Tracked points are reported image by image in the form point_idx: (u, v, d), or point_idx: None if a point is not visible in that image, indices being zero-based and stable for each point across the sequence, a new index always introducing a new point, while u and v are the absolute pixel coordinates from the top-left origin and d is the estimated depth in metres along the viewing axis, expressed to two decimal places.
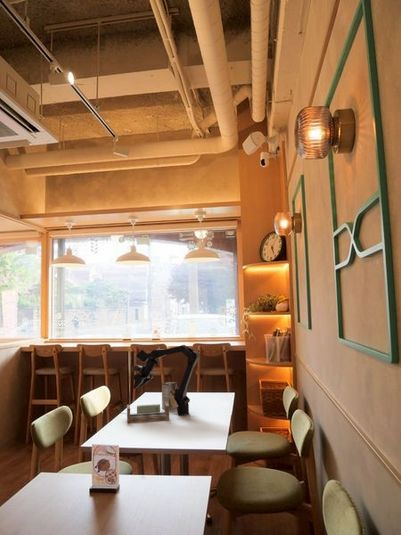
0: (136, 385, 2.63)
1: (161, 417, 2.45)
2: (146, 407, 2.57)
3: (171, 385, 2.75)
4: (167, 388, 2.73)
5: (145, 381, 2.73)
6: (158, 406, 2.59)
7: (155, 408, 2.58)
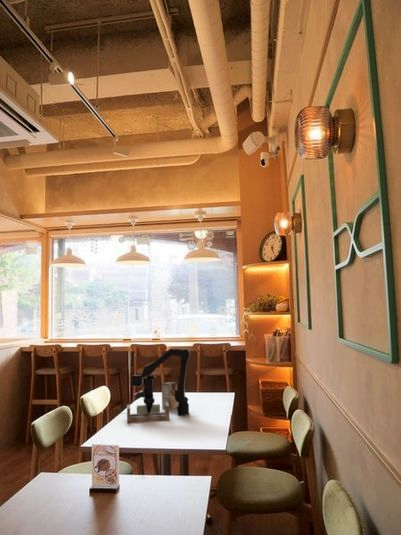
0: (149, 407, 2.56)
1: (161, 417, 2.45)
2: (146, 407, 2.57)
3: (171, 385, 2.75)
4: (167, 388, 2.73)
5: None
6: (158, 406, 2.59)
7: (155, 408, 2.58)
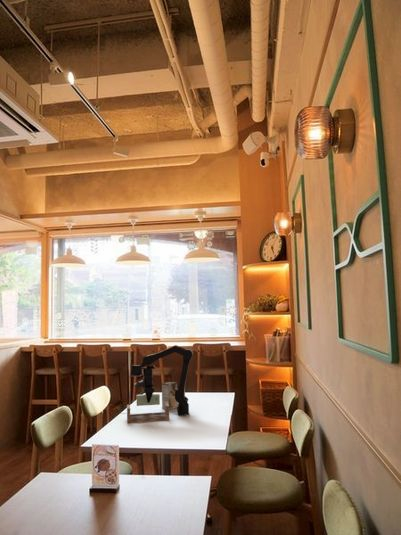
0: (149, 397, 2.57)
1: (161, 417, 2.45)
2: (146, 397, 2.58)
3: (171, 385, 2.75)
4: (167, 388, 2.73)
5: None
6: (158, 396, 2.59)
7: (155, 397, 2.59)
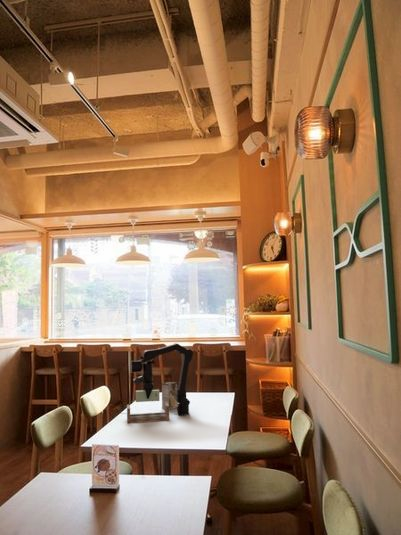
0: (149, 393, 2.49)
1: (161, 417, 2.45)
2: (145, 393, 2.50)
3: (171, 385, 2.75)
4: (167, 388, 2.73)
5: None
6: (157, 392, 2.51)
7: (154, 394, 2.51)
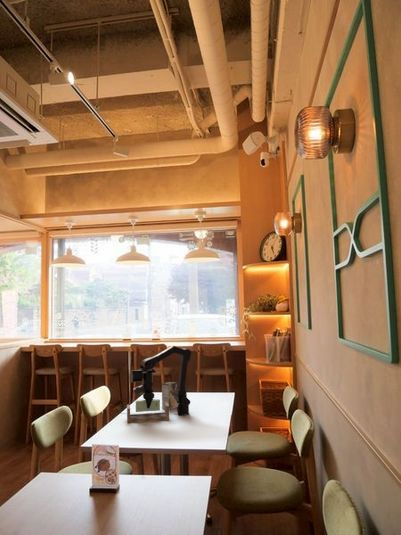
0: (149, 403, 2.46)
1: (161, 417, 2.45)
2: (145, 402, 2.47)
3: (171, 385, 2.75)
4: (167, 388, 2.73)
5: None
6: (158, 401, 2.48)
7: (155, 403, 2.47)
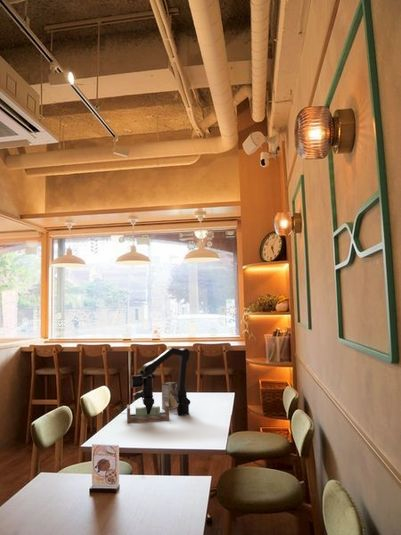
0: (149, 409, 2.44)
1: (161, 417, 2.45)
2: (145, 409, 2.46)
3: (171, 385, 2.75)
4: (167, 388, 2.73)
5: None
6: (158, 408, 2.47)
7: (155, 410, 2.47)
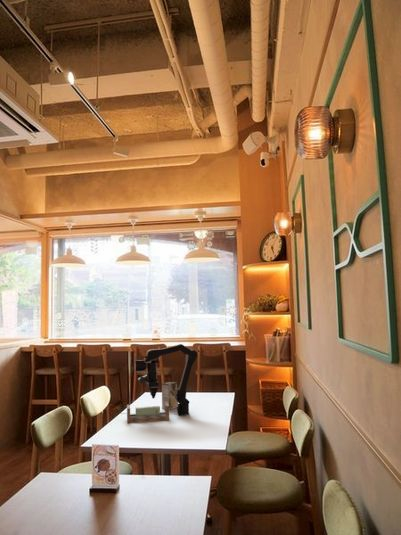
0: (154, 393, 2.49)
1: (161, 417, 2.45)
2: (145, 409, 2.46)
3: (171, 385, 2.75)
4: (167, 388, 2.73)
5: None
6: (158, 408, 2.47)
7: (155, 410, 2.47)
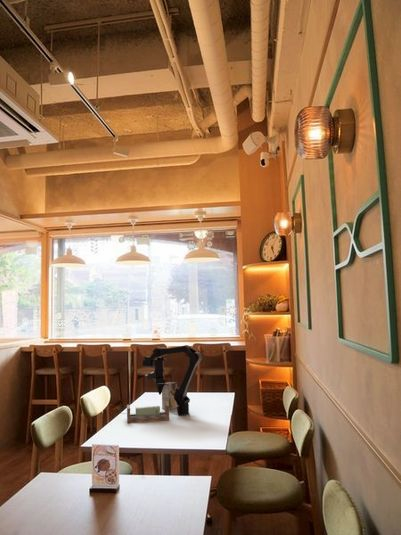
0: (161, 389, 2.59)
1: (161, 417, 2.45)
2: (145, 409, 2.46)
3: (171, 385, 2.75)
4: (167, 388, 2.73)
5: None
6: (158, 408, 2.47)
7: (155, 410, 2.47)
